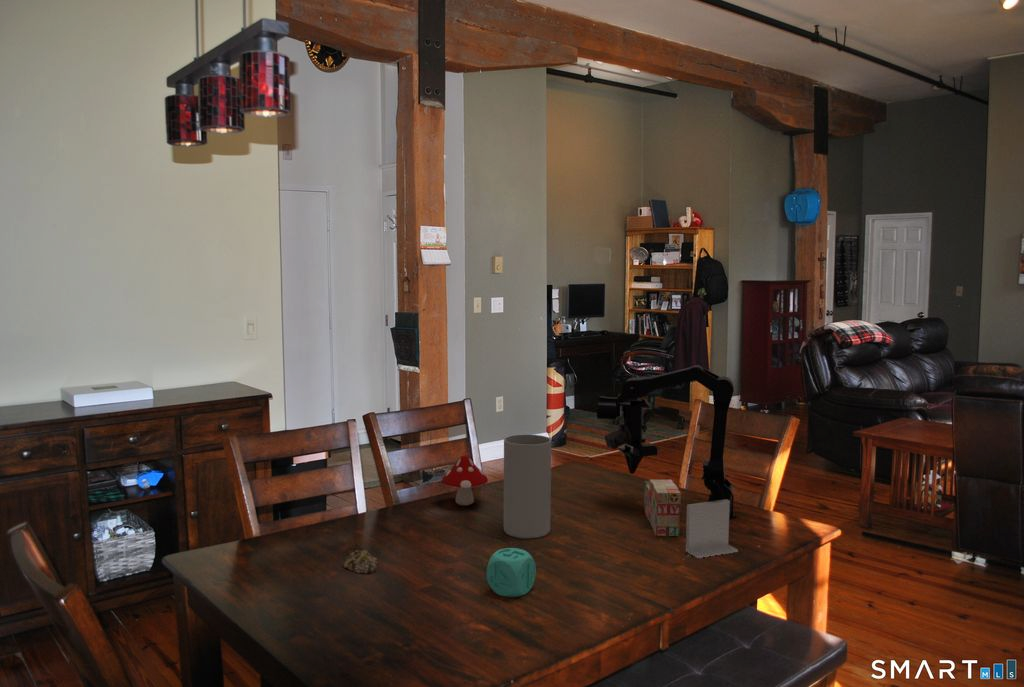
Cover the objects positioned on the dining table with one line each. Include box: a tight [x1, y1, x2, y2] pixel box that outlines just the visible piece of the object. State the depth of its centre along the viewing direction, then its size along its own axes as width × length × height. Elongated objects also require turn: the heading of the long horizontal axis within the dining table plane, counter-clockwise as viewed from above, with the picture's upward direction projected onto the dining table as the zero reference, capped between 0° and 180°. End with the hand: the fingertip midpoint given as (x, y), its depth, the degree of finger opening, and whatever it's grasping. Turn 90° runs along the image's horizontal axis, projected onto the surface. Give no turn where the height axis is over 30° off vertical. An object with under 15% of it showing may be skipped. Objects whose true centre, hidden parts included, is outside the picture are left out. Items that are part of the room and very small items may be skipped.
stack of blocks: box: [643, 479, 682, 538], centre depth 211 cm, size 21×6×12 cm, turn 179°
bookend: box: [685, 499, 739, 559], centre depth 190 cm, size 12×5×12 cm, turn 112°
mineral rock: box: [343, 549, 379, 575], centre depth 179 cm, size 11×4×8 cm
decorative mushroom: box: [441, 454, 489, 507], centre depth 226 cm, size 14×14×15 cm
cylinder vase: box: [503, 434, 552, 540], centre depth 203 cm, size 12×12×25 cm
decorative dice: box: [486, 547, 537, 598], centre depth 167 cm, size 8×8×8 cm
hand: (631, 473), depth 225 cm, fingers closed
